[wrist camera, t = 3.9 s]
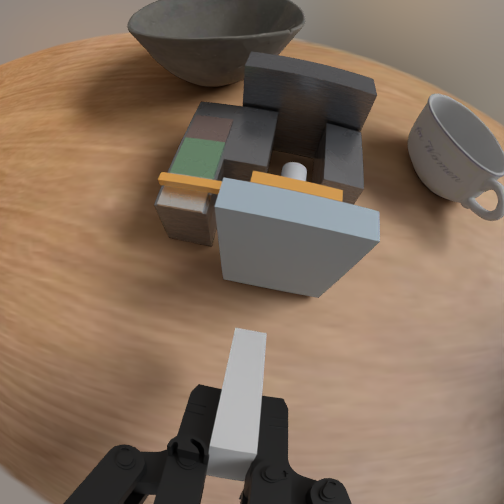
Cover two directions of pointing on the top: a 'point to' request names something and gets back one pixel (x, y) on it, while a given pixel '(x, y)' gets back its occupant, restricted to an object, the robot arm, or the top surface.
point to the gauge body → (270, 137)
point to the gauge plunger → (290, 235)
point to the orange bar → (257, 177)
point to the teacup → (457, 155)
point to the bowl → (214, 35)
